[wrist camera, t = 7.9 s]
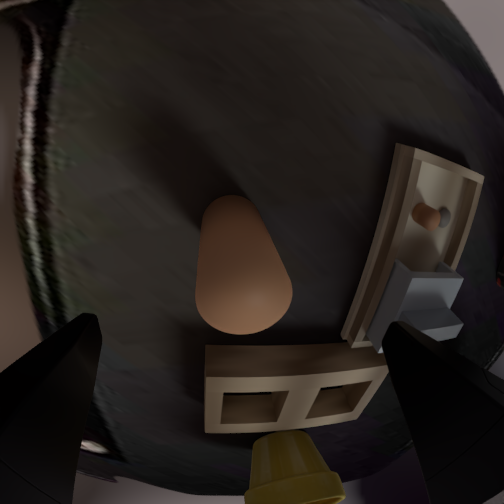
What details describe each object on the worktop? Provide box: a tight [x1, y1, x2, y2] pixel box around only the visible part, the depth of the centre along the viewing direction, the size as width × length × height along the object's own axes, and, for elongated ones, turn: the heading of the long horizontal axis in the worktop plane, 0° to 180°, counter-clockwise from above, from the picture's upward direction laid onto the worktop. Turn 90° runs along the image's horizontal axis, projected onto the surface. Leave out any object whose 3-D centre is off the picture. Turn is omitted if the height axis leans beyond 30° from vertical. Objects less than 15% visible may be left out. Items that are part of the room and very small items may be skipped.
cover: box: [366, 259, 464, 353], centre depth 17 cm, size 5×6×4 cm
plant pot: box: [244, 430, 346, 504], centre depth 24 cm, size 10×10×10 cm
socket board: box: [204, 342, 389, 433], centre depth 21 cm, size 14×8×3 cm, turn 82°
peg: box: [195, 195, 292, 335], centre depth 12 cm, size 3×3×7 cm
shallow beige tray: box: [340, 143, 484, 348], centre depth 17 cm, size 8×14×2 cm, turn 172°
